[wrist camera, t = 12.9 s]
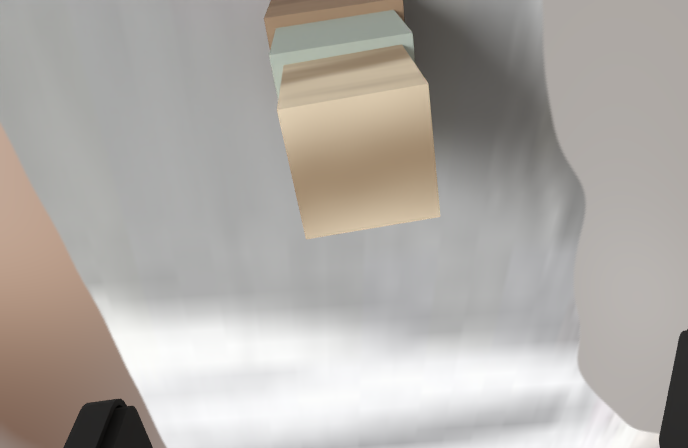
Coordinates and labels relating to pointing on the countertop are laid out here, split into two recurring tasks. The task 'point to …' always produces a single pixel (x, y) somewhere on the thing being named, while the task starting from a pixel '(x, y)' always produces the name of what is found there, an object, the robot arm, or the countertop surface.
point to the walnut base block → (322, 11)
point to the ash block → (359, 141)
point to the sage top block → (337, 39)
